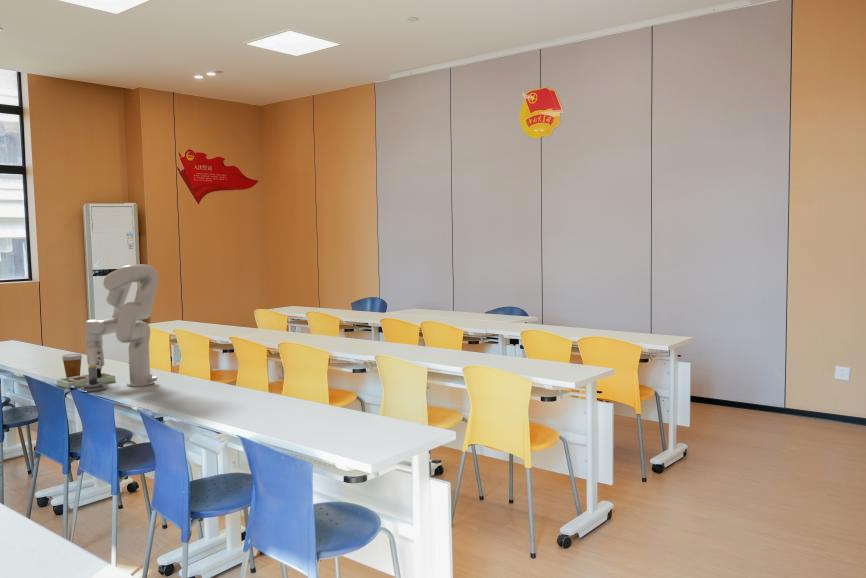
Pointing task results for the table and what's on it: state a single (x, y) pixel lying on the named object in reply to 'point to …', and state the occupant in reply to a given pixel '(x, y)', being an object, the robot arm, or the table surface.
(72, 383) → the tray
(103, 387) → the post
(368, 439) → the table surface
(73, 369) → the disposable coffee cup
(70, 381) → the ring
